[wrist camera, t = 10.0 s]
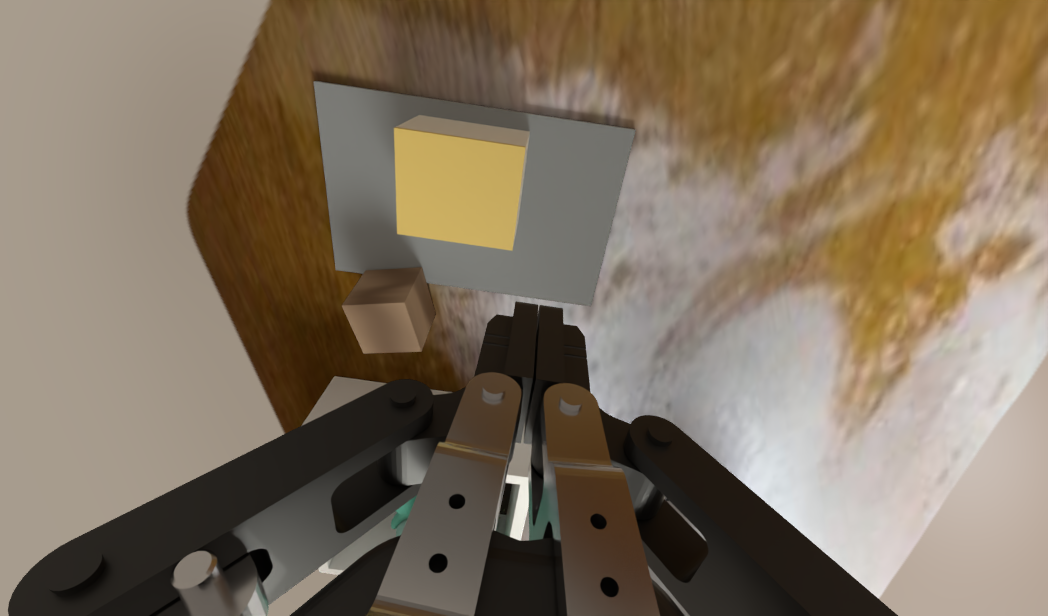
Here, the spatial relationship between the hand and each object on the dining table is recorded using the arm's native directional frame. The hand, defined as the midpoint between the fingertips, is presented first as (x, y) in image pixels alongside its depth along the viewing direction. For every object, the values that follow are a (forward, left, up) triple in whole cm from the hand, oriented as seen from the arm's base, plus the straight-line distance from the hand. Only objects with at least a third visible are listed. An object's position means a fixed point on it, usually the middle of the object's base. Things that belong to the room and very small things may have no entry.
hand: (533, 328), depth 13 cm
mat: (+5, +3, -18) cm, 19 cm away
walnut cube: (+10, +10, -18) cm, 23 cm away
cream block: (+1, 0, -15) cm, 15 cm away
